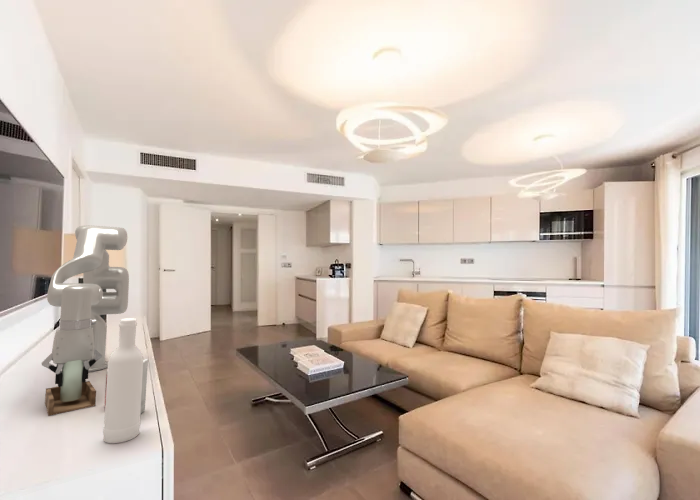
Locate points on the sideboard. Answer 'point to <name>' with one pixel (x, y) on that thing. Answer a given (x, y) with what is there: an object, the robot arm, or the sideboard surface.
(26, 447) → the sideboard surface
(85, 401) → the u rest
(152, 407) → the sideboard surface
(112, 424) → the bottle
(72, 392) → the bottle
